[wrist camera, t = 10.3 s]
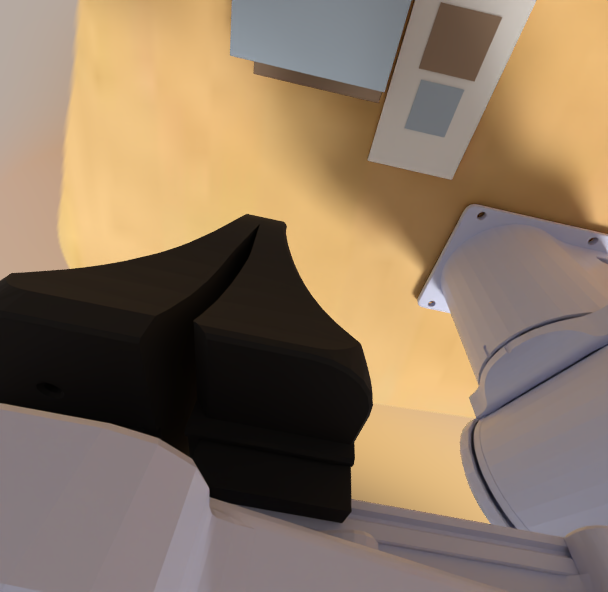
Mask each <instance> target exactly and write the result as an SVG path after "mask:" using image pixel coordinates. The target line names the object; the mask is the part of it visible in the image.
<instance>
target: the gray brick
mask: <svg viewBox="0 0 608 592" xmlns="http://www.w3.org/2000/svg"><path fill="white" fill-rule="evenodd" d="M410 4H411V0H232V14H231V43H230V56H234V57H239V58H243V59H247V60H251V61H255V62H259V63H264V64H268V65H272V66H276V67H280V68H285V69H289V70H293V71H297V72H301V73H305V74H310V75H314V76H318V77H322V78H326V79H331V80H335V81H339V82H343V83H347V84H351V85H356V86H360V87H364V88H368V89H372V90H377V91H381V92H385V89H386V85H387V82H388V79H389V75H390V72H391V68H392V65H393V62H394V58H395V55H396V51H397V48H398V45H399V41H400V38H401V34H402V31H403V28H404V24H405V21H406V17H407V14H408V11H409V7H410Z"/></svg>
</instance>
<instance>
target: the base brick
mask: <svg viewBox="0 0 608 592" xmlns="http://www.w3.org/2000/svg"><path fill="white" fill-rule="evenodd" d="M254 74H257V75H261V76H265V77H270V78H274V79H278V80H282V81H287V82H291V83H295V84H299V85H304V86H308V87H312V88H316V89H321V90H325V91H329V92H333V93H338V94H342V95H346V96H351V97H355V98H359V99H363V100H368V101H372V102H376V103H379V100H380V97H381V93H382V92H381V91H377V90H372V89H368V88H364V87H360V86H356V85H351V84H347V83H343V82H339V81H335V80H331V79H326V78H322V77H318V76H314V75H310V74H305V73H301V72H297V71H293V70H289V69H285V68H280V67H276V66H272V65H268V64H264V63H259V62H255V61H254Z"/></svg>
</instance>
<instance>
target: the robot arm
mask: <svg viewBox="0 0 608 592" xmlns="http://www.w3.org/2000/svg"><path fill="white" fill-rule="evenodd" d="M481 212H485V213H484V215H483V216H482V217H477V215H478V214H479V213H481ZM286 228H287V226H286V224H285V223H284V222H282V221H277V220H273V219H268V218H263V217H259V216H254V215H249V214H246V215H244V216H242V217H240V218H238V219H236V220H234V221H233V222H231V223H229V224H227V225H225V226H223V227H222V228H220V229H218V230H216V231H214V232H212V233H210V234H207V235H205V236H203V237H201V238H199V239H196V240H194V241H192V242H190V243H187V244H185V245H182V246H179V247H176V248H173V249H170V250H167V251H164V252H161V253H157V254H153V255H149V256H145V257H140V258H136V259H132V260H127V261H123V262H117V263H111V264H105V265H99V266H91V267H84V268H75V269H67V270H52V271H39V272H26V273H11V274H9V275H8V276H7V277H5V278H4V279H2V280H1V281H0V592H608V234H605V233H601V232H597V231H592V230H588V229H583V228H579V227H575V226H570V225H566V224H561V223H557V222H553V221H548V220H544V219H539V218H535V217H531V216H526V215H522V214H518V213H513V212H509V211H504V210H500V209H496V208H491V207H487V206H482V205H478V204H471V205H469V206H467V207H466V208H465V210H464V211H463V213H462V215H461V217H460V219H459V221H458V223H457V225H456V227H455V228H454V230H453V232H452V234H451V236H450V238H449V240H448V242H447V244H446V245H445V247H444V249H443V251H442V253H441V255H440V257H439V259H438V261H437V263H436V264H435V266H434V268H433V270H432V272H431V274H430V276H429V278H428V280H427V281H426V283H425V285H424V287H423V289H422V291H421V293H420V295H419V297H418V299H417V301H418V305H419V306H421V307H424V308H429V309H433V310H438V311H443V312H447V313H451V316H452V318H453V321H454V323H455V326H456V328H457V331H458V333H459V336H460V339H461V341H462V344H463V346H464V349H465V351H466V354H467V356H468V359H469V362H470V364H471V367H472V369H473V372H474V374H475V377H476V379H477V382H478V385H479V387H478V389H477V390H476V391H475V393H473V394H472V395H471V396H470V397H469V399H470V402H471V404H472V407H473V410H474V413H475V416H476V419H474V420H472V421H470V422H469V423H468V424H467V425H466V426H465V427H464V429H463V431H462V433H461V439H460V453H461V458H462V464H463V467H464V471H465V475H466V478H467V481H468V484H469V486H470V488H471V491H472V493H473V495H474V497H475V499H476V501H477V503H478V505H479V506H480V508H481V510H482V511H483V513H484V515H485V516H486V518H487V519H488V520H489V522H490V523H491V524H487V523H481V522H476V521H470V520H465V519H459V518H454V517H448V516H442V515H437V514H432V513H426V512H420V511H415V510H409V509H404V508H398V507H393V506H387V505H381V504H376V503H371V502H365V501H360V500H354V499H351V467H352V466H353V465H354V460H355V454H354V441H355V440H356V438H357V436H358V435H359V433H360V431H361V429H362V428H363V426H364V424H365V422H366V421H367V419H368V417H369V415H370V412H371V409H372V406H373V402H372V386H371V380H370V376H369V371H368V367H367V363H366V360H365V356H364V353H363V349H362V346H361V344H360V343H359V342H358V341H357V340H356V339H355V338H353V337H352V336H351V335H350V334H349V333H347V332H346V331H345V330H344V329H343V328H341V327H340V326H339V325H338V324H337V323H336V322H335V321H334V320H333V319H332V318H331V317H330V316H329V315H328V314H327V313H326V312H325V311H324V310H323V309H322V308H321V307H320V305H319V304H318V303H317V302H316V300H315V299H314V298H313V297H312V295H311V294H310V292H309V291H308V289H307V288H306V286H305V284H304V283H303V281H302V279H301V277H300V275H299V273H298V271H297V269H296V266H295V264H294V262H293V259H292V256H291V253H290V250H289V246H288V242H287V237H286ZM591 238H594V239H593V240H592V241H590V242H588V241H589V240H590V239H591ZM430 301H434V302H433V303H429V302H430Z"/></svg>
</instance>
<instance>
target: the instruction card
mask: <svg viewBox="0 0 608 592" xmlns="http://www.w3.org/2000/svg"><path fill="white" fill-rule="evenodd" d="M535 2H536V0H415V1H414V4H413V8H412V11H411V15H410V18H409V21H408V25H407V28H406V31H405V35H404V38H403V42H402V45H401V48H400V52H399V55H398V58H397V62H396V65H395V69H394V72H393V75H392V79H391V82H390V85H389V89H388V92H387V95H386V99H385V102H384V106H383V109H382V112H381V116H380V119H379V122H378V126H377V129H376V133H375V136H374V139H373V143H372V146H371V149H370V153H369V156H368V161H371V162H376V163H380V164H385V165H389V166H393V167H398V168H402V169H406V170H411V171H415V172H419V173H424V174H428V175H433V176H437V177H441V178H446V179H450V180H452V178H453V176H454V174H455V172H456V170H457V168H458V165H459V163H460V161H461V159H462V157H463V155H464V153H465V151H466V149H467V146H468V144H469V142H470V140H471V138H472V136H473V134H474V132H475V129H476V127H477V125H478V123H479V121H480V119H481V117H482V115H483V113H484V110H485V108H486V106H487V104H488V102H489V100H490V98H491V96H492V93H493V91H494V89H495V87H496V85H497V83H498V81H499V79H500V77H501V74H502V72H503V70H504V68H505V66H506V64H507V62H508V60H509V58H510V55H511V53H512V51H513V49H514V47H515V45H516V43H517V41H518V38H519V36H520V34H521V32H522V30H523V28H524V26H525V24H526V22H527V19H528V17H529V15H530V13H531V11H532V9H533V7H534V5H535Z"/></svg>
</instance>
